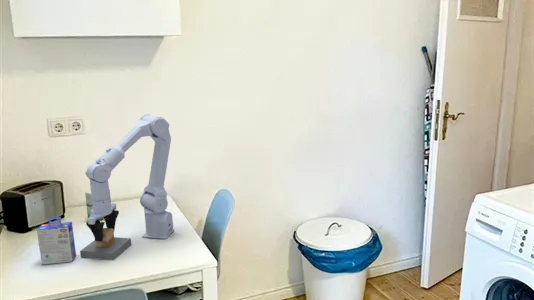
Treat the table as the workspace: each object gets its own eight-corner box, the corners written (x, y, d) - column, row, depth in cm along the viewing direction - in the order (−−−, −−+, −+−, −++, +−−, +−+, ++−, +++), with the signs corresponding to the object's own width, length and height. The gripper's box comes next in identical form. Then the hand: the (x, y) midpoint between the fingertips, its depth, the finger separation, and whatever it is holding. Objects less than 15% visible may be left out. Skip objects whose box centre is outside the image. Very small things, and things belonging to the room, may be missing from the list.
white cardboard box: (94, 222, 185) (91, 194, 183) (87, 220, 188) (84, 192, 186) (113, 216, 192) (110, 188, 189) (106, 213, 195) (103, 186, 192)
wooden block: (114, 242, 161) (113, 228, 160) (107, 247, 157) (106, 233, 155) (102, 241, 162) (101, 227, 161) (95, 246, 158) (94, 232, 156)
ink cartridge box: (76, 254, 158) (71, 214, 154) (73, 262, 152) (68, 220, 149) (45, 257, 156) (40, 217, 153) (41, 265, 151) (35, 223, 147)
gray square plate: (131, 246, 164) (130, 238, 164) (113, 261, 153) (112, 253, 152) (100, 243, 167) (99, 236, 166) (81, 259, 155) (80, 250, 155)
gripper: (101, 191, 163) (105, 227, 166) (77, 205, 149) (82, 244, 152) (120, 191, 162) (123, 228, 165) (97, 206, 148) (101, 245, 151)
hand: (105, 236), depth 159 cm, fingers open, 7 cm apart
